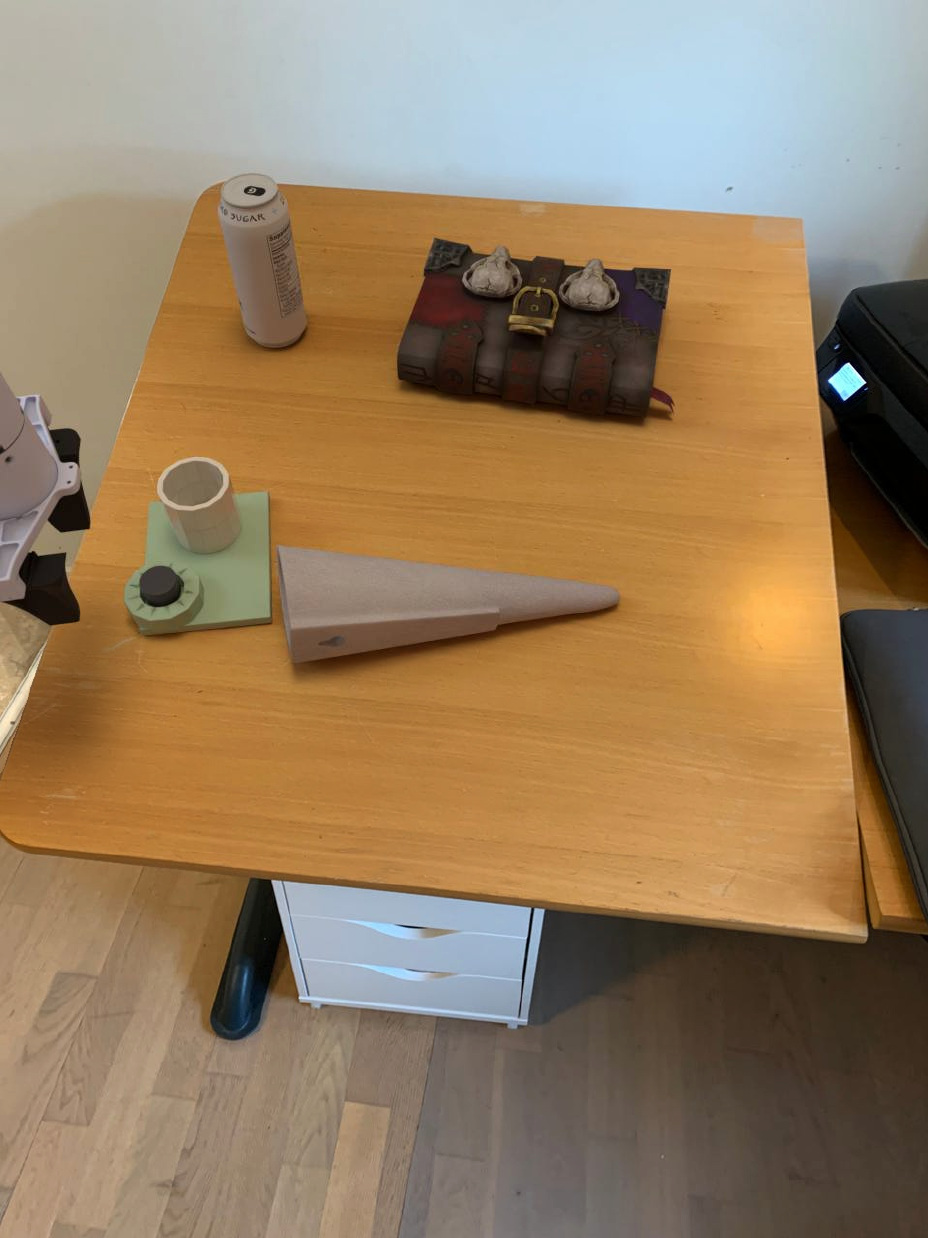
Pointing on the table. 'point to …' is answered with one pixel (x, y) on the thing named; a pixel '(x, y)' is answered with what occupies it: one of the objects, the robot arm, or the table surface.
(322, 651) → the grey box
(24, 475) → the robot arm
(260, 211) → the energy drink can
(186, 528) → the cup
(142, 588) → the button
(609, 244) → the table surface
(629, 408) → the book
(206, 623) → the scale
